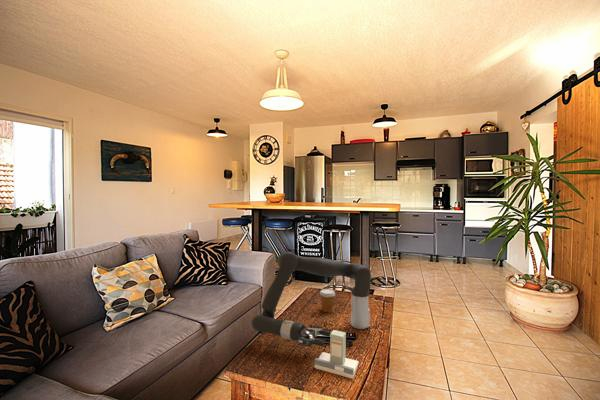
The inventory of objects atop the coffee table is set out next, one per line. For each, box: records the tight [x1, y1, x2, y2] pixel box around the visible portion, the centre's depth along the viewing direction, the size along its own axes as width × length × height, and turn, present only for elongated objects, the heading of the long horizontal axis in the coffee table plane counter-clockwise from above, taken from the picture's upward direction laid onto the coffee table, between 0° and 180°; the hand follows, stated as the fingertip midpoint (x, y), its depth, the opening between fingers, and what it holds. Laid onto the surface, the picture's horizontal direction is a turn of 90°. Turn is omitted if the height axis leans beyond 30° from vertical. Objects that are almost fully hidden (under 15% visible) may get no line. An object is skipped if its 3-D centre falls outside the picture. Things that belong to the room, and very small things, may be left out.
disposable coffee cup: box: [319, 288, 336, 313], centre depth 172 cm, size 10×10×12 cm
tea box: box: [329, 329, 347, 365], centre depth 116 cm, size 4×6×12 cm
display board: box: [314, 351, 359, 380], centre depth 116 cm, size 10×16×4 cm, turn 66°
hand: (326, 338), depth 118 cm, fingers open, 8 cm apart
